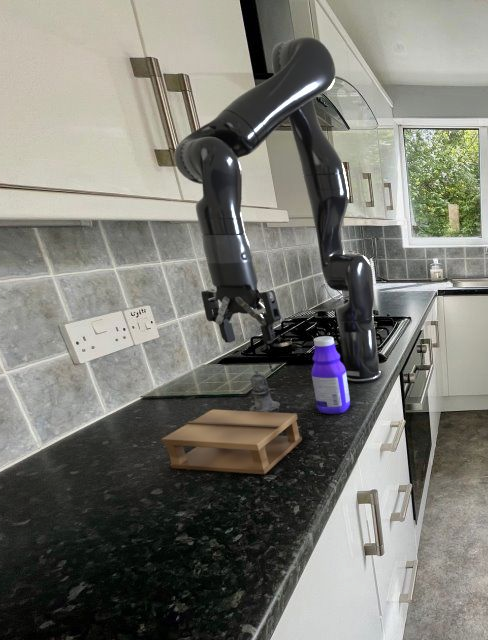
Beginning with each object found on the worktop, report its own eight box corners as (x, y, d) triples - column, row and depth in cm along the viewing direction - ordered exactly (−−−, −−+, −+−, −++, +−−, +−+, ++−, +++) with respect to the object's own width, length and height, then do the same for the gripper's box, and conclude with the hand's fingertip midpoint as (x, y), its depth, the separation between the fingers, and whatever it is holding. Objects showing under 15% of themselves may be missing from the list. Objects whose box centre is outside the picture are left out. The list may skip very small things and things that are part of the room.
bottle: (355, 405, 98) (344, 335, 91) (344, 416, 92) (332, 342, 86) (326, 404, 98) (313, 334, 92) (314, 414, 93) (300, 341, 87)
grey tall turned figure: (270, 428, 87) (258, 376, 82) (246, 426, 88) (233, 374, 84) (288, 416, 92) (278, 366, 88) (266, 414, 93) (254, 364, 89)
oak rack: (220, 435, 84) (212, 407, 82) (302, 440, 83) (296, 412, 80) (171, 468, 73) (160, 437, 71) (264, 474, 71) (256, 443, 69)
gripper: (277, 258, 80) (293, 338, 86) (210, 257, 81) (230, 336, 87) (252, 261, 73) (271, 348, 79) (179, 261, 74) (203, 346, 80)
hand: (249, 342), depth 83 cm, fingers open, 8 cm apart
